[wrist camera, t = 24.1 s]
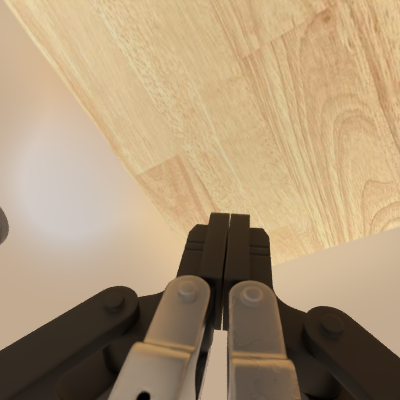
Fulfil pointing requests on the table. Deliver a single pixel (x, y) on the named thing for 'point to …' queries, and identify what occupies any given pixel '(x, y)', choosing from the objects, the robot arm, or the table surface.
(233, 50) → the table surface
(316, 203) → the table surface
